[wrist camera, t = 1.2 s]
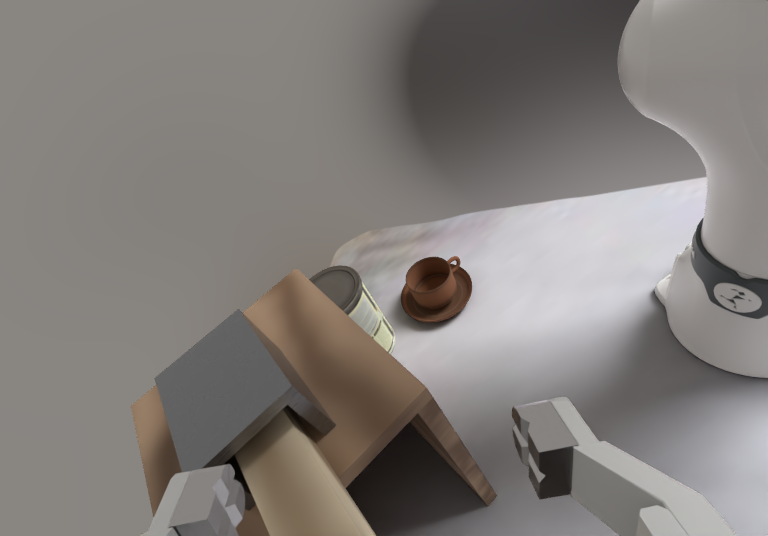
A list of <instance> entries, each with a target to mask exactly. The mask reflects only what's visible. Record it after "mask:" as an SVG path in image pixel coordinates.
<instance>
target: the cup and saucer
mask: <svg viewBox="0 0 768 536" xmlns="http://www.w3.org/2000/svg"><path fill="white" fill-rule="evenodd" d="M454 260H456V261H457V264H456V265H454V264H450V263H451V262H452V261H454ZM459 266H460V259H459V258H458V257H456V256H454V257H452V258H450V259H449V260H448V261H446V260H444V259H442V258H439V257H428V258H424V259H422V260H420V261H418V262H416V263H415V264H414V265H413V266H412V267H411V268H410V269H409V270H408V272H407V275H406V284H405V286H404V288H403V290H402V294H401V303H402V306H403V309H404V310H405V312H406V313H407V314H408V315H409V316H410V317H412V318H414V319H416V320H418V321H421V322H439V321H443V320H445V319H448V318H450V317H452V316H454V315H455V314H457V313H458V312H459V311H460V310H462V309H463V307H464V306H465V305H466V304H467V302H468V301H469V299H470V296H471V292H472V281H471V278H470V276H469V274H468V273H467V272H466V271H465V270H464V269H463V268H461V267H459Z"/></svg>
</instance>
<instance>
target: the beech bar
mask: <svg viewBox="0 0 768 536" xmlns="http://www.w3.org/2000/svg"><path fill="white" fill-rule="evenodd" d="M235 457H236V459H237V461H238V463H239V466H240V468H241V470H242V473H243V475H244V477H245V480H246V482H247V484H248V486H249V489H250V491H251V493H252V496H253V498H254V500H255V502H256V505H257V507H258V509H259V512H260V514H261V516H262V519H263V521H264V523H265V525H266V528H267V530H268V532H269V535H270V536H376V534H375V533H374V531H373V530H372V528H371V527H370V525H369V524H368V522H367V521H366V519H365V518H364V516H363V514H362V513H361V511H360V510H359V508H358V507H357V505H356V504H355V502H354V501H353V499H352V498H351V496H350V495H349V493H348V492H347V490H346V489H345V487H344V485H343V484H342V482H341V481H340V479H339V478H338V476H337V475H336V473H335V472H334V470H333V469H332V467H331V466H330V464H329V463H328V461H327V460H326V458H325V456H324V455H323V453H322V452H321V450H320V449H319V447H318V446H317V444H316V443H315V441H314V440H313V438H312V437H311V435H310V434H309V432H308V431H307V429H306V427H305V426H304V424H303V423H302V421H301V420H300V418H299V417H298V415H297V414H296V412H295V411H294V410H293V409H292V408H291V407H289V406H288V405H287V406H286V407H285V408H284V409H283V410H281V411H280V412H279V413H278V414H277V415H276V416H275V417H274V418H273V419H272V420H271V421H270V422H269V423H267V424H266V425H265V426H264V427H263V428H262V429H261V430H260V431H259V432H258V433H257V434H256V435H255V436H254V437H252V438H251V439H250V440H249V441H248V442H247V443H246V444H245V445H244V446H243V447H242V448H241V449H240V450H238V451H237V452H236V453H235Z"/></svg>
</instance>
